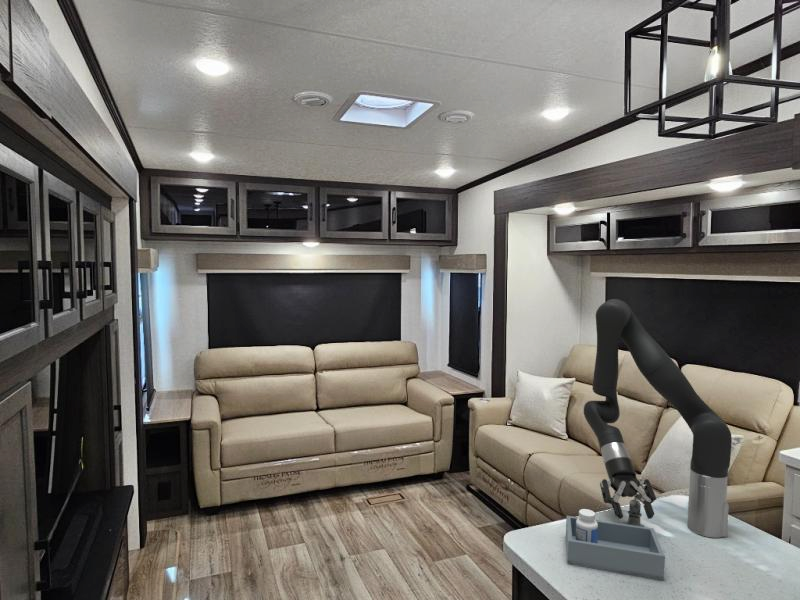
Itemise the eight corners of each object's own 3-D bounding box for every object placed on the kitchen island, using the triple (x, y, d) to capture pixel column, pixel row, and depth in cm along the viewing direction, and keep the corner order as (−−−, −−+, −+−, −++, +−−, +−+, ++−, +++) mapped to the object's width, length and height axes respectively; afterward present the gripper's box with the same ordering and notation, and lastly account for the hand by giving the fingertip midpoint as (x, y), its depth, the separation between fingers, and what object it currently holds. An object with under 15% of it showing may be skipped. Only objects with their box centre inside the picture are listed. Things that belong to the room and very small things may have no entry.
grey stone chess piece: (643, 536, 142) (645, 494, 142) (646, 546, 137) (648, 503, 136) (620, 532, 144) (622, 491, 144) (622, 542, 139) (625, 499, 138)
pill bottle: (593, 543, 136) (595, 508, 135) (599, 554, 130) (601, 518, 130) (572, 542, 136) (574, 507, 136) (577, 553, 131) (579, 516, 130)
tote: (652, 550, 135) (653, 528, 135) (663, 580, 122) (665, 556, 121) (565, 536, 141) (566, 515, 141) (567, 563, 128) (568, 540, 127)
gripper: (598, 455, 147) (615, 513, 136) (646, 456, 148) (667, 513, 137) (589, 466, 152) (605, 522, 142) (635, 466, 153) (655, 522, 142)
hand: (635, 518), depth 139 cm, fingers open, 8 cm apart
